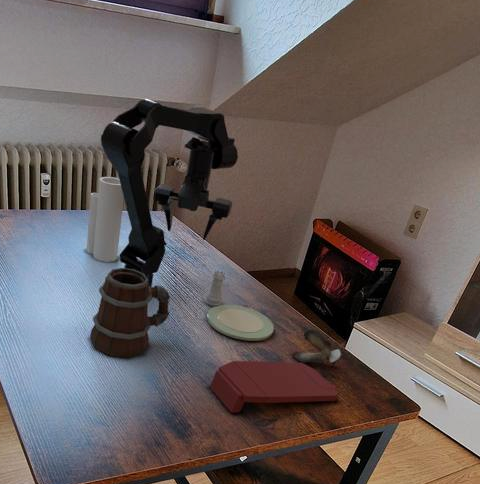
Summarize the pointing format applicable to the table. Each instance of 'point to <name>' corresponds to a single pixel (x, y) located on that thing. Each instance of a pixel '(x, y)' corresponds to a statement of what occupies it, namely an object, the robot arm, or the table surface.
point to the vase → (105, 220)
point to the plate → (240, 322)
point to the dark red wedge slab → (269, 384)
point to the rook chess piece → (215, 290)
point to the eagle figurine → (321, 344)
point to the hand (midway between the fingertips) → (186, 235)
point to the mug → (126, 313)
